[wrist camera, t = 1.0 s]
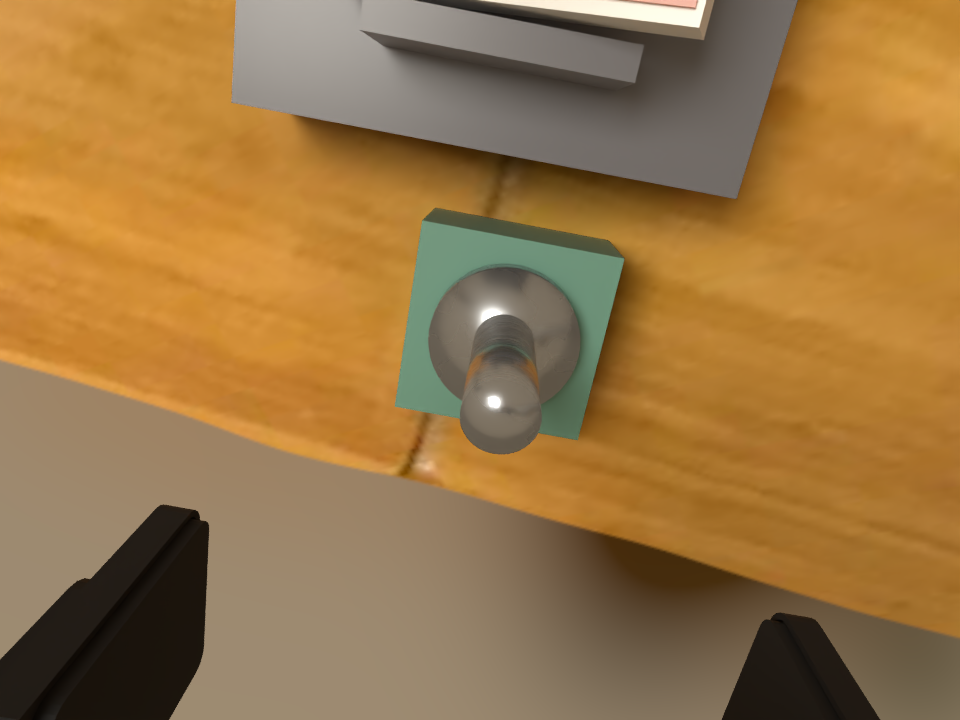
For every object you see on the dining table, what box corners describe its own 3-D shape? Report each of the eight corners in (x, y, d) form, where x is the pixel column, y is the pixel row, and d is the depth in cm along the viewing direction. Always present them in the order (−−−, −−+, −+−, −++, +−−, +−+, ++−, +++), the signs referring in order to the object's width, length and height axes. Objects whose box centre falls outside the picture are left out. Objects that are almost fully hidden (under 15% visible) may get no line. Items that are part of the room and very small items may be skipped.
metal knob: (582, 259, 29) (627, 340, 18) (554, 381, 31) (578, 522, 20) (452, 235, 29) (414, 300, 18) (432, 358, 31) (386, 487, 20)
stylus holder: (608, 240, 29) (624, 258, 25) (569, 399, 32) (577, 440, 28) (435, 207, 29) (422, 220, 25) (410, 370, 32) (394, 406, 28)
